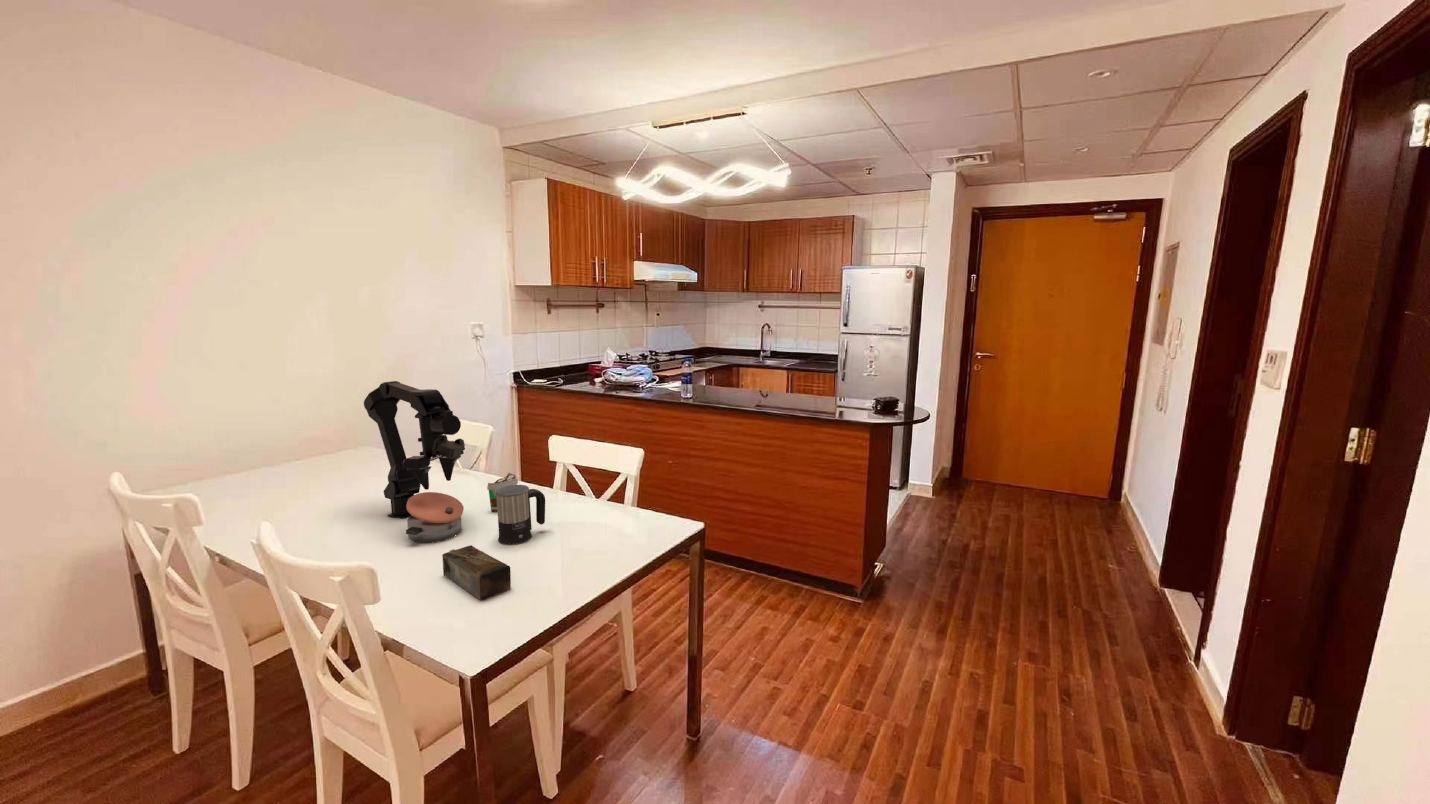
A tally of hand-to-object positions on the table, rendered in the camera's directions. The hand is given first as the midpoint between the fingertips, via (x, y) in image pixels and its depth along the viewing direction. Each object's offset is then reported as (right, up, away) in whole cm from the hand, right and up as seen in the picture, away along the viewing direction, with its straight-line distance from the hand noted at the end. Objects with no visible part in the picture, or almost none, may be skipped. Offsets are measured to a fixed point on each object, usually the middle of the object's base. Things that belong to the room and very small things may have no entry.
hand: (438, 484), depth 168 cm
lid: (+1, -6, -3) cm, 7 cm away
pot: (0, -14, -2) cm, 14 cm away
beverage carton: (+24, -20, -30) cm, 43 cm away
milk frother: (+23, -14, -1) cm, 27 cm away
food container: (+14, -10, +19) cm, 26 cm away
